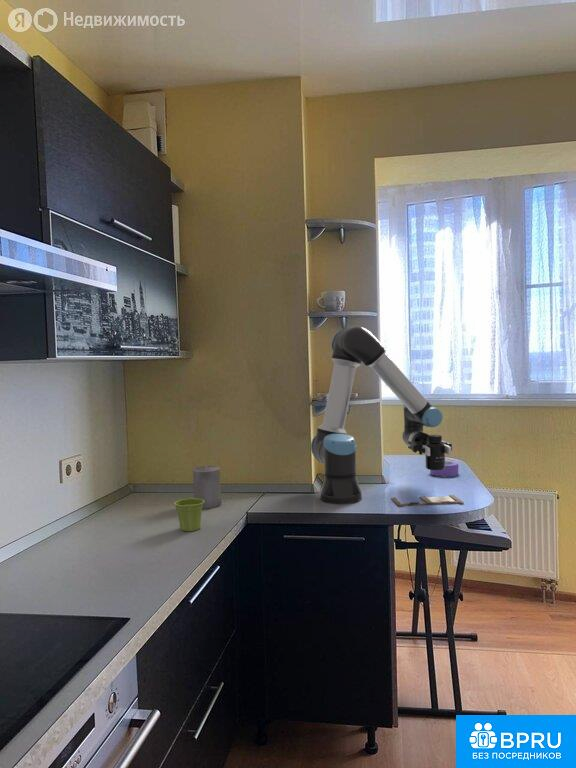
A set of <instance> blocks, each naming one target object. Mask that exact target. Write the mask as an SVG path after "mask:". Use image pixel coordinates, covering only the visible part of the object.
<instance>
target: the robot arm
mask: <svg viewBox="0 0 576 768" xmlns="http://www.w3.org/2000/svg"><path fill="white" fill-rule="evenodd" d="M330 345H331V350H332V354H331V361H332V362H333V364H334V365H333V369H332V375H331V379H330V384H329V390H328V394H327V400H326V403H325V408H324V409H325V410H324V414H323V420H322V423H321V424H320V425H318V426H317V430H316V434H315V436H314V437H313V438H312V440H311V442H310V450H311V454H312V456H313V457H314V458H315V459H316V460H317V461H318V462H320V463H321V464H324V480H323V483H322V486H321V490H320V500H321V501H322V502H325V503H328V504H335V505H338V504H342V505H343V504H353V503H358V502H360V501H361V500H362V499H363V498H362V497H363V496H362V490H361V487H360V485H359V482H358V479H357V453H356V452H357V444H356V439H355V437H354V436H352V435H349V434H348V433H347V430H346V429H345V425H346V420H347V415H348V410H349V405H350V399H351V394H352V390H353V384H354V379H355V376H356V370H357V368H358V367H360V366H361V365H362V363H363V365H364V366H365V367H370V369H372V370H373V372H374V373H375V374H376V375H377V376H378V377H379V378H380V379H381V380H382V382H383V383H384V384H385V385H386V386H387V387H388V388H389V389H390V391H391V392H392V393H393V394H394V395H395V396H396V397H397V398H398V399H399V401H400V402H401V403H402V404H403V420H404V421H403V422H404V423H403V426H404V427H403V429H404V430H403V432H402V434H401V435H402V436H401V439H402V440H403V442H404V444H406V445H407V448H408V449H410V450H411V451H412V452H413V453H416V454H417V452H418V455H421V456H422V455H423V454H424V455H425V454H426V455H427V456H430V448H429V447H427V446H425V445H426V443H428V442H429V441H428V435H429V433H426V432H424V427H427V428H435V427H438V426H439V425H441V424H442V421H443V413H442V411H441V410H440V409H439V408H437V407H435V406H433V405H432V404H431V403H430V402H429V401H428V400H427V399H426V398H425V396H423V394H422V393H421V392H420V391H419V390H418V389H417V387H416V386H415V385H414V384H413V382H411V381H410V379H409V378H408V377H407V376H406V375H405V373H404V372H403V371H401V369H400V368H399V367H398V365H397V364H396V363H395V362H394V361H393V360H392V359H391V358H390V357H389V356H388V354H387V352H386V351H387V350H386V347H385V346H384V345H383V344H382V343H381V342H380V341H379V340H378V338H377V337H376V336H375V335H373V333H372V332H371V331H370V330H369V329H367V328H365V327H362V326H353V327H344V328H342V329H340V330H339V331H337V332H335V333H334V335H333V336H332V339H331V343H330ZM441 442H442V443H443V444H444V445H445V455H446V454H447V455H448V456H452V451H453V444H452V443H451V442H447V441H445V440H443V439H442V441H441Z"/></svg>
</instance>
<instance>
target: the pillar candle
mask: <svg viewBox="0 0 576 768" xmlns="http://www.w3.org/2000/svg"><path fill="white" fill-rule="evenodd" d="M220 470H221V469H220V467H219V466H217V465H207V464H206V465H202V466H197V467H194V468H193V469H192V472H193V473H192V474H193V475H192V476H193V477H192V478H193V494H194V495H193V496H194V498H193V499H202V500H204V503H203V507H202V510H206V509H215V508H218V507H220V506H221V505H222V491H221V489H222V488H221V474H220V473H221V471H220Z"/></svg>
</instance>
